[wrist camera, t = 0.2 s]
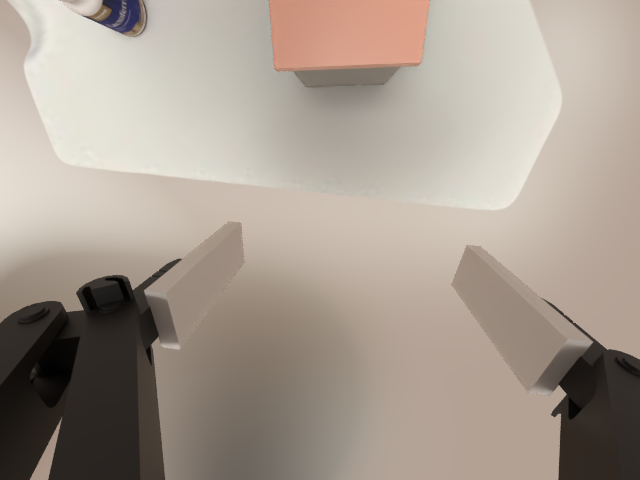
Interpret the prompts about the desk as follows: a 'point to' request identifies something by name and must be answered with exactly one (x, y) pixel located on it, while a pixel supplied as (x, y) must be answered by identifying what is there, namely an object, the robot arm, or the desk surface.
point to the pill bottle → (112, 14)
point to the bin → (346, 76)
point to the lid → (347, 33)
